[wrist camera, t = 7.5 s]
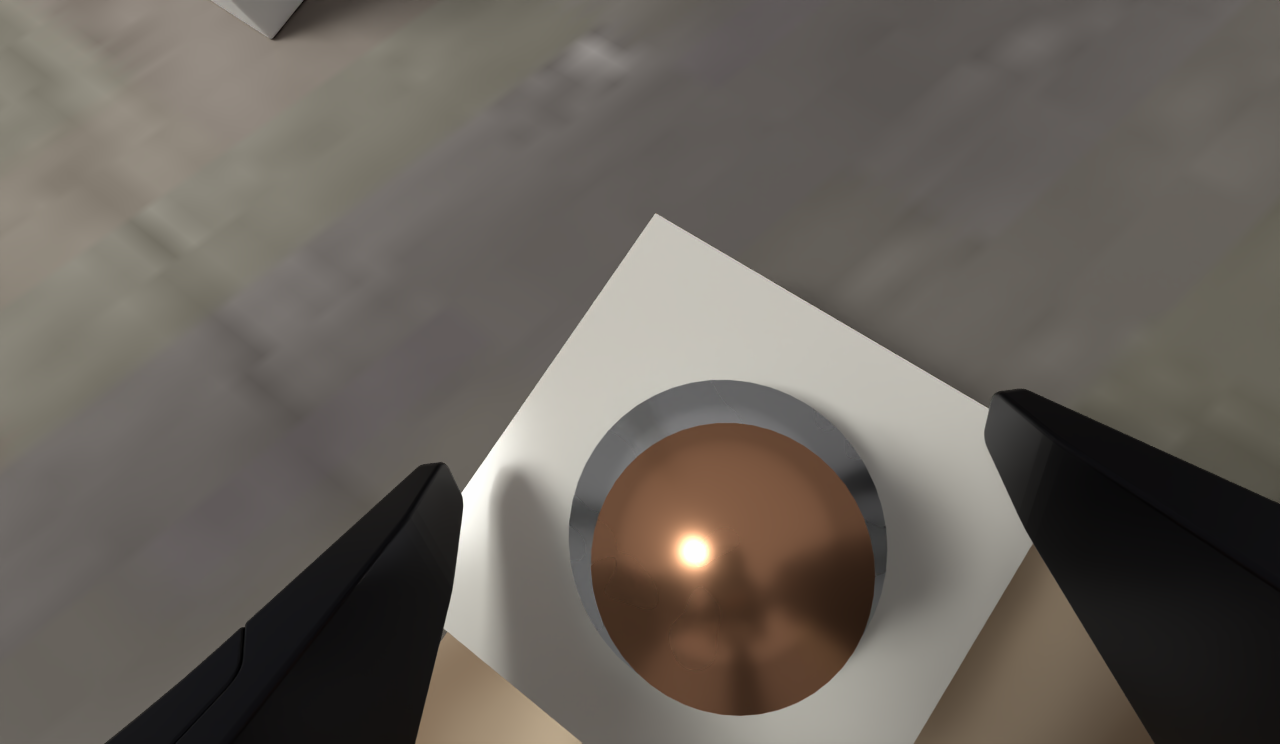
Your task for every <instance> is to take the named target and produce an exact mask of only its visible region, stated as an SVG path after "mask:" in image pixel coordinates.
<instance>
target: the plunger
mask: <svg viewBox="0 0 1280 744" xmlns="http://www.w3.org/2000/svg"><path fill="white" fill-rule="evenodd" d="M569 551H570V562H571V567H572V572H573V576H574V581H575V585H576V587H577V590H578V593H579V596H580V599H581V601H582V604H583V606H584V608H585V610H586V612H587V614H588V616H589V618H590V620H591V622H592V624H593V625H594V627H595V628H596V630H597V631H598V633H599V634H600V636H601V637H602V639H603V640H604V641H605V642H606V644H607V645H608V646H609V647H610V648H611V649H612V651H613V652H614V653H615V654H616V655H617V656H618V657H619V658H620V659H621V660H622V661H623V662H624V663H625V664H627V665H628V666H629V667H630V668H631V669H632V670H633V671H634V672H636V673H637V674H639V675H640V676H641V677H642V678H643V679H644V680H646V681H647V682H648V683H649V684H650V685H651V686H653V687H654V688H656V689H657V690H659V691H660V692H662V693H663V694H665V695H666V696H668V697H670V698H672V699H674V700H676V701H678V702H680V703H682V704H684V705H687V706H689V707H692V708H695V709H698V710H701V711H705V712H710V713H715V714H720V715H733V716H746V715H758V714H764V713H768V712H773V711H777V710H780V709H783V708H786V707H788V706H791V705H793V704H796V703H798V702H800V701H802V700H803V699H805V698H807V697H809V696H810V695H812V694H814V693H815V692H816V691H818V690H819V689H820V688H822V687H823V686H824V685H825V684H827V683H828V682H829V681H830V680H831V679H832V678H833V677H834V676H835V675H836V674H837V673H838V672H839V671H840V670H841V669H842V668H843V666H844V665H845V664H846V662H847V661H848V659H849V658H850V657H851V655H852V654H853V652H854V651H855V649H856V647H857V645H858V643H859V641H860V639H861V637H862V636H863V634H864V633H865V631H866V629H867V627H868V625H869V623H870V621H871V619H872V617H873V615H874V613H875V610H876V607H877V605H878V602H879V599H880V596H881V593H882V588H883V584H884V579H885V574H886V564H887V534H886V525H885V520H884V514H883V509H882V505H881V502H880V499H879V496H878V493H877V490H876V487H875V484H874V482H873V480H872V478H871V476H870V474H869V472H868V470H867V468H866V466H865V464H864V463H863V461H862V459H861V458H860V456H859V455H858V453H857V452H856V450H855V449H854V447H853V446H852V445H851V444H850V442H849V441H848V440H847V439H846V438H845V437H844V435H843V434H842V433H841V432H840V431H839V430H838V429H837V428H836V427H835V426H834V425H833V424H832V423H831V422H830V421H828V420H827V419H826V418H825V417H824V416H823V415H821V414H820V413H819V412H817V411H816V410H814V409H813V408H812V407H810V406H809V405H807V404H806V403H804V402H802V401H800V400H798V399H796V398H794V397H793V396H791V395H789V394H786V393H784V392H781V391H779V390H776V389H773V388H771V387H767V386H763V385H759V384H755V383H751V382H744V381H736V380H707V381H700V382H693V383H688V384H685V385H681V386H677V387H674V388H671V389H668V390H666V391H664V392H661V393H659V394H656V395H654V396H652V397H651V398H649V399H647V400H645V401H644V402H642V403H640V404H638V405H637V406H636V407H634V408H633V409H632V410H630V411H629V412H628V413H626V414H625V415H624V416H623V417H621V418H620V419H619V420H618V421H617V422H616V423H615V424H614V425H613V426H612V427H611V428H610V429H609V430H608V431H607V433H606V434H605V435H604V437H603V438H602V439H601V440H600V442H599V443H598V444H597V446H596V447H595V449H594V450H593V452H592V454H591V456H590V457H589V459H588V461H587V462H586V464H585V467H584V469H583V471H582V474H581V476H580V478H579V481H578V483H577V487H576V490H575V494H574V497H573V501H572V507H571V513H570V520H569Z"/></svg>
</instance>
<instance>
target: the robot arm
mask: <svg viewBox="0 0 1280 744" xmlns="http://www.w3.org/2000/svg"><path fill="white" fill-rule="evenodd" d="M984 439H985V444H986V446H987V449H988V451H989V453H990V455H991V457H992V460H993V462H994V464H995V466H996V468H997V471H998V473H999V475H1000V477H1001V479H1002V482H1003V484H1004V486H1005V488H1006V490H1007V492H1008V495H1009V497H1010V499H1011V501H1012V503H1013V506H1014V508H1015V510H1016V512H1017V514H1018V516H1019V518H1020V520H1021V522H1022V524H1023V526H1024V528H1025V530H1026V532H1027V534H1028V536H1029V537H1030V539H1031V541H1032V543H1033V544H1034V546H1035V548H1036V549H1037V551H1038V552H1039V554H1040V556H1041V557H1042V559H1043V561H1044V562H1045V564H1046V566H1047V567H1048V569H1049V571H1050V572H1051V574H1052V576H1053V577H1054V579H1055V581H1056V582H1057V584H1058V585H1059V587H1060V589H1061V590H1062V592H1063V594H1064V595H1065V597H1066V599H1067V600H1068V602H1069V604H1070V605H1071V607H1072V609H1073V610H1074V612H1075V614H1076V615H1077V617H1078V618H1079V620H1080V622H1081V623H1082V625H1083V627H1084V628H1085V630H1086V632H1087V633H1088V635H1089V637H1090V638H1091V640H1092V642H1093V643H1094V645H1095V647H1096V648H1097V650H1098V652H1099V653H1100V655H1101V656H1102V658H1103V660H1104V661H1105V663H1106V665H1107V666H1108V668H1109V670H1110V671H1111V673H1112V675H1113V676H1114V678H1115V680H1116V681H1117V683H1118V685H1119V686H1120V688H1121V689H1122V691H1123V693H1124V694H1125V696H1126V698H1127V699H1128V701H1129V703H1130V704H1131V706H1132V708H1133V709H1134V711H1135V713H1136V714H1137V716H1138V718H1139V719H1140V721H1141V722H1142V724H1143V726H1144V727H1145V729H1146V731H1147V732H1148V734H1149V736H1150V737H1151V739H1152V741H1153V742H1154V744H1280V504H1279V503H1277V502H1274V501H1272V500H1270V499H1268V498H1266V497H1263V496H1261V495H1259V494H1257V493H1254V492H1252V491H1250V490H1248V489H1246V488H1243V487H1241V486H1239V485H1237V484H1235V483H1232V482H1230V481H1228V480H1226V479H1224V478H1221V477H1219V476H1217V475H1215V474H1212V473H1210V472H1208V471H1206V470H1204V469H1201V468H1199V467H1197V466H1195V465H1193V464H1190V463H1188V462H1186V461H1184V460H1181V459H1179V458H1177V457H1175V456H1173V455H1170V454H1168V453H1166V452H1164V451H1162V450H1159V449H1157V448H1155V447H1153V446H1150V445H1148V444H1146V443H1144V442H1142V441H1139V440H1137V439H1135V438H1133V437H1131V436H1128V435H1126V434H1124V433H1122V432H1120V431H1117V430H1115V429H1113V428H1111V427H1108V426H1106V425H1104V424H1102V423H1100V422H1097V421H1095V420H1093V419H1091V418H1089V417H1086V416H1084V415H1082V414H1080V413H1077V412H1075V411H1073V410H1071V409H1069V408H1066V407H1064V406H1062V405H1060V404H1058V403H1055V402H1053V401H1051V400H1049V399H1046V398H1044V397H1042V396H1040V395H1038V394H1035V393H1033V392H1031V391H1029V390H1026V389H1013V390H1005V391H999V392H997V393H995V394H994V395H993V397H992V399H991V403H990V407H989V411H988V416H987V420H986V425H985V429H984ZM463 507H464V505H463V497H462V494H461V492H460V490H459V488H458V486H457V484H456V482H455V480H454V477H453V475H452V473H451V471H450V469H449V468H448V466H447V465H446V464H445V463H442V462H438V463H430V464H423V465H420V466H419V467H417V468H416V469H415V470H414V471H413V472H412V473H411V474H410V475H408V476H407V477H406V478H405V479H404V480H403V481H402V482H401V483H400V484H399V485H397V486H396V487H395V488H394V489H393V490H392V491H391V492H390V493H389V494H388V495H386V496H385V497H384V498H383V499H382V500H381V501H380V502H379V503H378V504H377V505H375V506H374V507H373V508H372V509H371V510H370V511H369V512H368V513H367V514H366V515H364V516H363V517H362V518H361V519H360V520H359V521H358V522H357V523H356V524H355V525H353V526H352V527H351V528H350V529H349V530H348V531H347V532H346V533H345V534H344V535H342V536H341V537H340V538H339V539H338V540H337V541H336V542H335V543H334V544H332V545H331V546H330V547H329V548H328V549H327V550H326V551H325V552H324V553H323V554H321V555H320V556H319V557H318V558H317V559H316V560H315V561H314V562H313V563H312V564H310V565H309V566H308V567H307V568H306V569H305V570H304V571H303V572H302V573H301V574H299V575H298V576H297V577H296V578H295V579H294V580H293V581H292V582H291V583H289V584H288V585H287V586H286V587H285V588H284V589H283V590H282V591H281V592H280V593H278V594H277V595H276V596H275V597H274V598H273V599H272V600H271V601H270V602H269V603H267V604H266V605H265V606H264V607H263V608H262V609H261V610H260V611H259V612H257V613H256V614H255V615H254V616H253V617H252V618H251V619H250V620H249V621H248V622H247V623H246V624H245V627H242V628H240V629H239V630H238V631H236V632H235V633H234V634H233V635H232V636H231V637H230V638H229V639H228V640H227V641H225V642H224V643H223V644H222V645H221V646H220V647H219V648H218V649H217V650H215V651H214V652H213V653H212V654H211V655H210V656H209V657H207V658H206V659H205V660H204V661H203V662H202V663H201V664H200V665H198V666H197V667H196V668H195V669H194V670H193V671H192V672H190V673H189V674H188V675H187V676H186V677H185V678H184V679H182V680H181V681H180V682H179V683H178V684H176V685H175V686H174V687H173V688H172V689H170V690H169V691H168V692H167V693H166V694H165V695H163V696H162V697H161V698H160V699H159V700H157V701H156V702H155V703H154V704H152V705H151V706H150V707H149V708H148V709H146V710H145V711H144V712H143V713H142V714H140V715H139V716H138V717H137V718H135V719H134V720H133V721H132V722H131V723H129V724H128V725H127V726H126V727H124V728H123V729H122V730H121V731H119V732H118V733H117V734H116V735H115V736H113V737H112V738H111V739H110V740H108V741H107V742H106V743H105V744H415V743H416V739H417V735H418V730H419V726H420V722H421V718H422V714H423V710H424V706H425V702H426V698H427V694H428V690H429V685H430V681H431V677H432V673H433V669H434V665H435V661H436V657H437V653H438V649H439V645H440V640H441V636H442V632H443V628H444V624H445V620H446V616H447V612H448V608H449V604H450V599H451V595H452V590H453V584H454V578H455V570H456V563H457V555H458V547H459V539H460V531H461V524H462V516H463Z"/></svg>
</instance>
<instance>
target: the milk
mask: <svg viewBox="0 0 1280 744" xmlns="http://www.w3.org/2000/svg"><path fill="white" fill-rule="evenodd" d="M211 1H212V2H214V3H215V4H217V5H218V6H220V7H221V8H223V9H225V10H226V11H228V12H229V13H231V14H232V15H234V16H235V17H237V18H239V19H240V20H242V21H243V22H245V23H246V24H248V25H249V26H251V27H252V28H254V29H256V30H257V31H259V32H260V33H262V34H263V35H265V36H266V37H268V38H270V39H272V38H273V37H274V36H275V35H276V34H277V33H278V31H279V30H280V29H281V28H282V26H283V25H284V24H285V23H286V21H287V20H288V19H289V18H290V16H291V15H292V14H293V13H294V11H295V10H296V9H297V8H298V7H299V5H300V4H301V3H302V2H303V0H211Z"/></svg>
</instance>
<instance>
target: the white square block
mask: <svg viewBox="0 0 1280 744" xmlns="http://www.w3.org/2000/svg"><path fill="white" fill-rule="evenodd" d="M707 380H736V381H744V382H751V383H755V384H759V385H763V386H767V387H771V388H773V389H776V390H779V391H781V392H784V393H786V394H789V395H791V396H793V397H794V398H796V399H798V400H800V401H802V402H804V403H806V404H807V405H809V406H810V407H812V408H813V409H814V410H816V411H817V412H819V413H820V414H821V415H823V416H824V417H825V418H826V419H827V420H828V421H830V422H831V423H832V424H833V425H834V426H835V427H836V428H837V429H838V430H839V431H840V432H841V433H842V434H843V435H844V437H845V438H846V439H847V440H848V441H849V442H850V444H851V445H852V446H853V447H854V449H855V450H856V452H857V453H858V455H859V456H860V458H861V459H862V461H863V463H864V464H865V466H866V468H867V470H868V472H869V474H870V476H871V478H872V480H873V482H874V484H875V487H876V490H877V493H878V496H879V499H880V502H881V505H882V509H883V514H884V520H885V525H886V534H887V564H886V574H885V579H884V584H883V588H882V593H881V596H880V599H879V602H878V605H877V607H876V610H875V613H874V615H873V617H872V619H871V621H870V623H869V625H868V627H867V629H866V631H865V633H864V634H863V636H862V637H861V639H860V641H859V643H858V645H857V647H856V649H855V651H854V652H853V654H852V655H851V657H850V658H849V659H848V661H847V662H846V664H845V665H844V666H843V668H842V669H841V670H840V671H839V672H838V673H837V674H836V675H835V676H834V677H833V678H832V679H831V680H830V681H829V682H828V683H827V684H825V685H824V686H823V687H822V688H820V689H819V690H818V691H816V692H815V693H814V694H812V695H810V696H809V697H807V698H805V699H803V700H802V701H800V702H798V703H796V704H793V705H791V706H788V707H786V708H783V709H780V710H777V711H773V712H768V713H764V714H758V715H746V716H733V715H720V714H715V713H710V712H705V711H701V710H698V709H695V708H692V707H689V706H687V705H684V704H682V703H680V702H678V701H676V700H674V699H672V698H670V697H668V696H666V695H665V694H663V693H662V692H660V691H659V690H657V689H656V688H654V687H653V686H651V685H650V684H649V683H648V682H647V681H646V680H644V679H643V678H642V677H641V676H640V675H639V674H637V673H636V672H634V671H633V670H632V669H631V668H630V667H629V666H628V665H627V664H625V663H624V662H623V661H622V660H621V659H620V658H619V657H618V656H617V655H616V654H615V653H614V652H613V651H612V649H611V648H610V647H609V646H608V645H607V644H606V642H605V641H604V640H603V639H602V637H601V636H600V634H599V633H598V631H597V630H596V628H595V627H594V625H593V624H592V622H591V620H590V618H589V616H588V614H587V612H586V610H585V608H584V606H583V604H582V601H581V599H580V596H579V593H578V590H577V587H576V585H575V581H574V576H573V572H572V567H571V562H570V551H569V520H570V513H571V507H572V501H573V497H574V494H575V490H576V487H577V483H578V481H579V478H580V476H581V474H582V471H583V469H584V467H585V464H586V462H587V461H588V459H589V457H590V456H591V454H592V452H593V450H594V449H595V447H596V446H597V444H598V443H599V442H600V440H601V439H602V438H603V437H604V435H605V434H606V433H607V431H608V430H609V429H610V428H611V427H612V426H613V425H614V424H615V423H616V422H617V421H618V420H619V419H620V418H621V417H623V416H624V415H625V414H626V413H628V412H629V411H630V410H632V409H633V408H634V407H636V406H637V405H638V404H640V403H642V402H644V401H645V400H647V399H649V398H651V397H652V396H654V395H656V394H659V393H661V392H664V391H666V390H668V389H671V388H674V387H677V386H681V385H685V384H688V383H693V382H700V381H707ZM988 411H989V409H988V408H987V407H985V406H983V405H982V404H980V403H978V402H976V401H975V400H973V399H971V398H970V397H968V396H966V395H965V394H963V393H961V392H959V391H958V390H956V389H954V388H953V387H951V386H949V385H947V384H946V383H944V382H942V381H941V380H939V379H937V378H936V377H934V376H932V375H930V374H929V373H927V372H925V371H924V370H922V369H920V368H918V367H917V366H915V365H913V364H912V363H910V362H908V361H907V360H905V359H903V358H901V357H900V356H898V355H896V354H895V353H893V352H891V351H889V350H888V349H886V348H884V347H883V346H881V345H879V344H878V343H876V342H874V341H872V340H871V339H869V338H867V337H866V336H864V335H862V334H860V333H859V332H857V331H855V330H854V329H852V328H850V327H849V326H847V325H845V324H843V323H842V322H840V321H838V320H837V319H835V318H833V317H831V316H830V315H828V314H826V313H825V312H823V311H821V310H820V309H818V308H816V307H814V306H813V305H811V304H809V303H808V302H806V301H804V300H802V299H801V298H799V297H797V296H796V295H794V294H792V293H791V292H789V291H787V290H785V289H784V288H782V287H780V286H779V285H777V284H775V283H773V282H772V281H770V280H768V279H767V278H765V277H763V276H761V275H760V274H758V273H756V272H755V271H753V270H751V269H750V268H748V267H746V266H744V265H743V264H741V263H739V262H738V261H736V260H734V259H732V258H731V257H729V256H727V255H726V254H724V253H722V252H721V251H719V250H717V249H715V248H714V247H712V246H710V245H709V244H707V243H705V242H703V241H702V240H700V239H698V238H697V237H695V236H693V235H692V234H690V233H688V232H686V231H685V230H683V229H681V228H680V227H678V226H676V225H674V224H673V223H671V222H669V221H668V220H666V219H664V218H663V217H661V216H659V215H657V214H656V213H655V215H654V216H653V218H652V219H651V220H650V222H649V223H648V225H647V226H646V228H645V229H644V231H643V232H642V233H641V235H640V236H639V238H638V239H637V241H636V242H635V244H634V245H633V246H632V248H631V249H630V251H629V252H628V254H627V255H626V257H625V258H624V259H623V261H622V262H621V264H620V265H619V267H618V268H617V270H616V271H615V272H614V274H613V275H612V277H611V278H610V280H609V281H608V283H607V284H606V285H605V287H604V288H603V290H602V291H601V293H600V294H599V296H598V297H597V298H596V300H595V301H594V303H593V304H592V306H591V307H590V309H589V310H588V311H587V313H586V314H585V316H584V317H583V319H582V320H581V322H580V323H579V324H578V326H577V327H576V329H575V330H574V332H573V333H572V335H571V336H570V337H569V339H568V340H567V342H566V343H565V345H564V346H563V348H562V349H561V350H560V352H559V353H558V355H557V356H556V358H555V359H554V361H553V362H552V363H551V365H550V366H549V368H548V369H547V371H546V372H545V374H544V375H543V376H542V378H541V379H540V381H539V382H538V384H537V385H536V387H535V388H534V389H533V391H532V392H531V394H530V395H529V397H528V398H527V400H526V401H525V402H524V404H523V405H522V407H521V408H520V410H519V411H518V413H517V414H516V415H515V417H514V418H513V420H512V421H511V423H510V424H509V426H508V427H507V428H506V430H505V431H504V433H503V434H502V436H501V437H500V439H499V440H498V441H497V443H496V444H495V446H494V447H493V449H492V450H491V452H490V453H489V454H488V456H487V457H486V459H485V460H484V462H483V463H482V465H481V466H480V467H479V469H478V470H477V472H476V473H475V475H474V476H473V478H472V479H471V480H470V482H469V483H468V485H467V486H466V488H465V489H464V491H463V492H462V493H461V494H462V497H463V505H464V507H463V516H462V524H461V531H460V539H459V547H458V555H457V563H456V570H455V578H454V584H453V590H452V595H451V599H450V604H449V608H448V612H447V616H446V620H445V624H444V629H445V630H446V631H447V632H449V633H450V634H451V635H452V636H453V637H455V638H456V639H457V640H458V641H459V642H461V643H462V644H463V645H464V646H466V647H467V648H468V649H469V650H470V651H472V652H473V653H474V654H475V655H476V656H478V657H479V658H480V659H481V660H482V661H484V662H485V663H486V664H487V665H489V666H490V667H491V668H492V669H493V670H495V671H496V672H497V673H498V674H499V675H501V676H502V677H503V678H504V679H505V680H507V681H508V682H509V683H510V684H512V685H513V686H514V687H515V688H516V689H518V690H519V691H520V692H521V693H522V694H524V695H525V696H526V697H527V698H528V699H530V700H531V701H532V702H533V703H535V704H536V705H537V706H538V707H539V708H541V709H542V710H543V711H544V712H545V713H547V714H548V715H549V716H550V717H551V718H553V719H554V720H555V721H556V722H558V723H559V724H560V725H561V726H562V727H564V728H565V729H566V730H567V731H568V732H570V733H571V734H572V735H573V736H574V737H576V738H577V739H578V740H579V741H581V742H582V743H583V744H914V742H915V740H916V739H917V737H918V735H919V734H920V732H921V730H922V729H923V727H924V725H925V724H926V722H927V720H928V719H929V717H930V715H931V713H932V712H933V710H934V708H935V707H936V705H937V703H938V702H939V700H940V698H941V697H942V695H943V693H944V692H945V690H946V688H947V687H948V685H949V683H950V682H951V680H952V678H953V677H954V675H955V673H956V672H957V670H958V668H959V667H960V665H961V663H962V661H963V660H964V658H965V656H966V655H967V653H968V651H969V650H970V648H971V646H972V645H973V643H974V641H975V640H976V638H977V636H978V635H979V633H980V631H981V630H982V628H983V626H984V625H985V623H986V621H987V620H988V618H989V616H990V615H991V613H992V611H993V609H994V608H995V606H996V604H997V603H998V601H999V599H1000V598H1001V596H1002V594H1003V593H1004V591H1005V589H1006V588H1007V586H1008V584H1009V583H1010V581H1011V579H1012V578H1013V576H1014V574H1015V573H1016V571H1017V569H1018V568H1019V566H1020V564H1021V563H1022V561H1023V559H1024V557H1025V556H1026V554H1027V552H1028V551H1029V549H1030V547H1031V546H1032V544H1033V543H1032V541H1031V539H1030V537H1029V536H1028V534H1027V532H1026V530H1025V528H1024V526H1023V524H1022V522H1021V520H1020V518H1019V516H1018V514H1017V512H1016V510H1015V508H1014V506H1013V503H1012V501H1011V499H1010V497H1009V495H1008V492H1007V490H1006V488H1005V486H1004V484H1003V482H1002V479H1001V477H1000V475H999V473H998V471H997V468H996V466H995V464H994V462H993V460H992V457H991V455H990V453H989V451H988V449H987V446H986V444H985V439H984V429H985V425H986V420H987V416H988Z"/></svg>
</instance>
